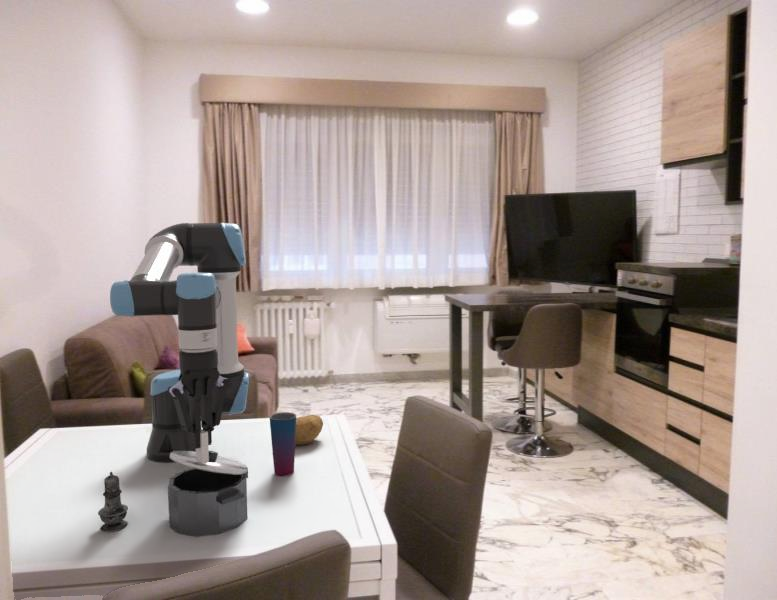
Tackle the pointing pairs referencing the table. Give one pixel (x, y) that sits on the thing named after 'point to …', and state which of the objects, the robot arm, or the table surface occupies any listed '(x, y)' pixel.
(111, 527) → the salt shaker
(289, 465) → the cup
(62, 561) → the table surface
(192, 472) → the pot
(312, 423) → the potato
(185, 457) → the lid
